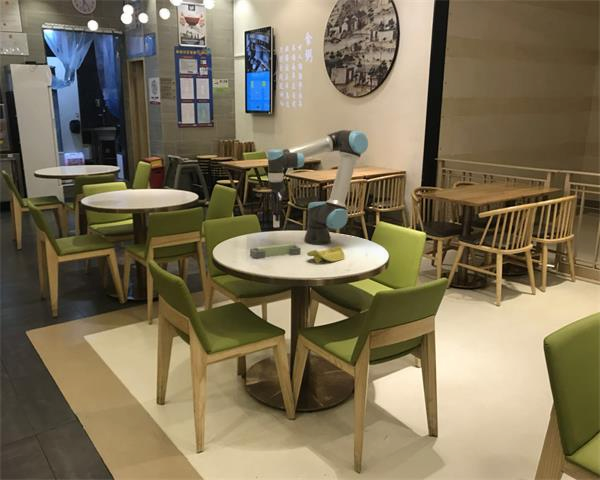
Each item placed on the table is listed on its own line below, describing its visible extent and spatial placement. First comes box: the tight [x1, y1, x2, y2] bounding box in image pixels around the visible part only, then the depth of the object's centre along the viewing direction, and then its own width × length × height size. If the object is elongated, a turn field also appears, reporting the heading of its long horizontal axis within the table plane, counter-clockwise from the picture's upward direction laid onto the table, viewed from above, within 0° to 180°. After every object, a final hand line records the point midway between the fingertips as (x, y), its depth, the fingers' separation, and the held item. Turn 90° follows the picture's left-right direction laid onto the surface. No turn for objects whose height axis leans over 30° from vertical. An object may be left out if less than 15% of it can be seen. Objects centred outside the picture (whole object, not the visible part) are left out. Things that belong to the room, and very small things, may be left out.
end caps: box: [249, 244, 301, 260], centre depth 267 cm, size 25×7×4 cm, turn 113°
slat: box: [255, 243, 295, 258], centre depth 266 cm, size 20×4×5 cm, turn 117°
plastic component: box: [306, 245, 345, 263], centre depth 259 cm, size 20×7×10 cm
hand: (276, 226), depth 264 cm, fingers closed
